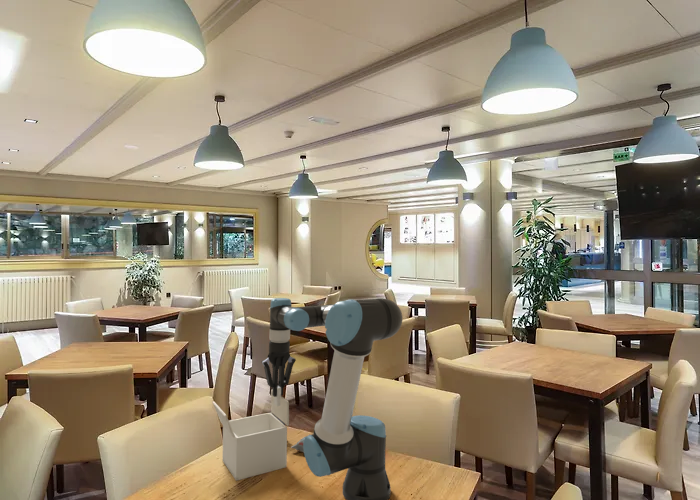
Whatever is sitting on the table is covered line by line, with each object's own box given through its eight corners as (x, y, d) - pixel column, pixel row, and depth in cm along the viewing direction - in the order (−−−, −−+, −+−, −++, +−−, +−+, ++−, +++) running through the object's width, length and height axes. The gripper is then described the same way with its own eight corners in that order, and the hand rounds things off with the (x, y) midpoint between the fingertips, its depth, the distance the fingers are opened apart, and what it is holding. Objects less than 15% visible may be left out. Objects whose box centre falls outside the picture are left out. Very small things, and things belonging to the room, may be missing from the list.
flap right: (287, 425, 154) (288, 425, 154) (287, 401, 154) (288, 401, 154) (271, 411, 167) (272, 411, 167) (271, 389, 167) (272, 389, 167)
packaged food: (315, 460, 158) (316, 446, 159) (290, 452, 165) (290, 439, 165) (329, 451, 166) (329, 438, 166) (304, 444, 172) (304, 431, 172)
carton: (286, 466, 153) (287, 427, 153) (236, 480, 144) (236, 438, 144) (269, 449, 167) (270, 412, 167) (222, 460, 157) (223, 421, 157)
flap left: (226, 414, 142) (224, 415, 142) (235, 437, 144) (233, 438, 144) (213, 401, 155) (212, 401, 155) (222, 421, 157) (220, 422, 157)
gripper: (291, 337, 167) (289, 398, 167) (259, 340, 160) (256, 404, 160) (299, 341, 160) (297, 405, 160) (266, 344, 153) (264, 411, 153)
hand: (277, 404), depth 160 cm, fingers closed
